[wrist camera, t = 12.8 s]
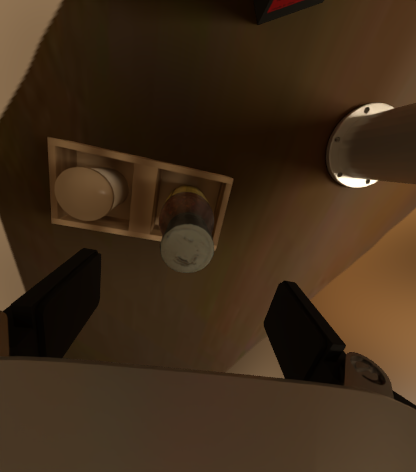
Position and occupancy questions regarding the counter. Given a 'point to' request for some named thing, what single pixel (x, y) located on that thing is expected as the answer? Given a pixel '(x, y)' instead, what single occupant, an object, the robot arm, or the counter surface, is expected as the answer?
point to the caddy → (134, 189)
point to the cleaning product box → (279, 8)
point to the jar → (90, 191)
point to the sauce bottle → (186, 230)
